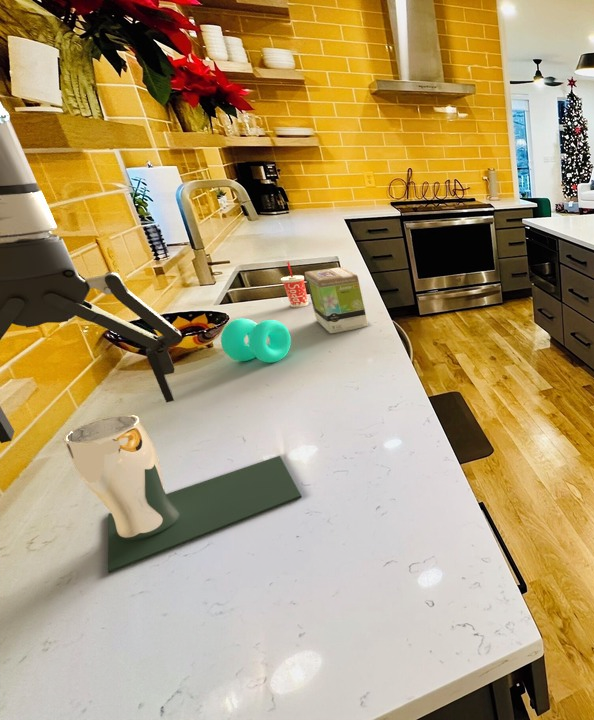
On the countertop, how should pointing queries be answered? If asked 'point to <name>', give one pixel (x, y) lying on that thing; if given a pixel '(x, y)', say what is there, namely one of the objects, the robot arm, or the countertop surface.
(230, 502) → the mat
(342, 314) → the tea box
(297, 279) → the beverage cup
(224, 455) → the countertop surface
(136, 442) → the beer glass
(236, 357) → the donuts
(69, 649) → the countertop surface
